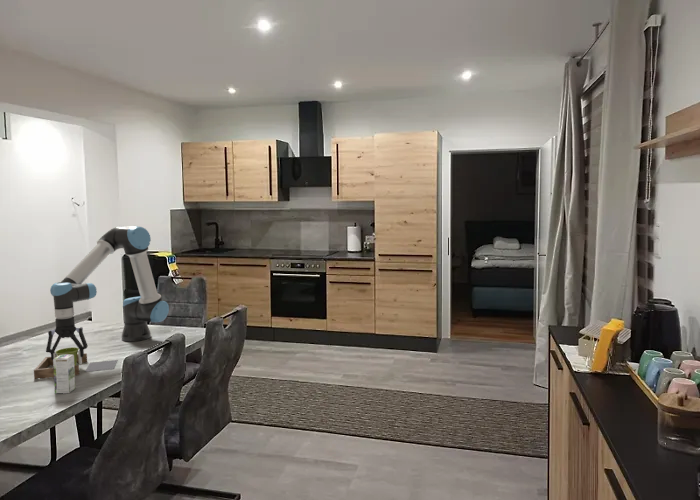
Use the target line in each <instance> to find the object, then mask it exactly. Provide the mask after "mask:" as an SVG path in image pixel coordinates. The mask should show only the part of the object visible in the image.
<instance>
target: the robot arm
mask: <svg viewBox="0 0 700 500" xmlns="http://www.w3.org/2000/svg"><path fill="white" fill-rule="evenodd" d="M151 239H152V238H151V234H150V232H149V231H148V230H147V229H146V228H144V227H142V226H138V225H128V226H127V225H125V226H124V225H119V226H118V225H117V226H115V227H113V228H111V229H110V230H108V231H107V232H105V234H103V235H102V236H101V237H100V238H99V239H98V240H97V241H96V245H95V246H94V247H93V248H91V250H90V251H89V252H88V253H87V255H86V256H84V258H83V259H82V260H80V262H79V263H78V264H77V265H76V266H75V267H74V268H73V269H72V270H71V271H70V272H69V273H68V275H66V276H65V277H64V278H63V279H62V280H61V281H57V282H55V283H53V284H52V285H51V287H50V294H51V296H52V297H53V305H54V317H55V320H54V321H55V329H49V330H48V332H47V333H48V339H47V344H46V349H45V352H46V353H50V357H51V359H52V360H53V359H54V358H56V357H57V354H56V350H57V348H58V345H59V343H60V341H61V339H65V338H68V339H69V338H70V339H71V340H72V341H73V343H74V344H75V345H76V348H79V350H78V353H77V354H78V357H79V363H78V365H79V366H81V365H82V364H83V362H82V357H83V356H84V352H85V350H86V349H87V348H88V343H87V340H86V338H85V335H84V330H83V327H82V326H81V327H76V324H75V323H76V322H75V317H74V315H75V312H74V311H75V310H74V303H77V302H82V301H86V300H87V301H88V300H90V299H94V298H95V297H96V295H97V293H98V292H97V287H96V285H95V284H94V283H92V282H87V283H86V282H85V281H86V280H87V279H88V278H89V276H90V275H92V273H93V272H94V271H95V270H96V269H97V268H98V267H99V265H101V264H102V263H103V262H104V261H105V259H106V258H107V257H108V256H109V255H111V254H114V252H116V251H117V250H119V249H123V250H124V254H125V255H126V256H128V257H129V260H130V263H131V268H132V270H133V274H134V278H135V282H136V285H137V288H138V292H139V296H133V297H128V298H125V299H124V300H123V302H122V303H123V304H122V310H123V311H122V312H123V322H124V324H123V325H124V326H123V328H122V332H121V341H123V342H140V341H145V340H148V339H150V338H151V337H152V333H151V330H150V327H149V326H148V322H151V323H161V322H164V320H166V318H167V317H168V314H169V310H170V307H169V306H170V305H169V303H168V302H167V301H165V300H163V298H162V295H161V294H160V293H158V290H157V287H156V284H155V279H154V275H153V273H152V268H151V265H150V260H149V257H148V253H147V252H148V251H149V247H150V245H151V241H152V240H151ZM84 282H85V283H84ZM75 332H77V334H78V336H79V339H80V340H81V341H79V339H78V337H77V336H76V335H75ZM54 334H56V335H58V336H57V337H56V340H55V342H54V343H53V337H54ZM52 343H53V346H52ZM51 347H52V348H51Z"/></svg>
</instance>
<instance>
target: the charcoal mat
mask: <svg viewBox="0 0 700 500" xmlns="http://www.w3.org/2000/svg"><path fill="white" fill-rule="evenodd" d="M117 362H118V359H116V360H115V359H113V360H103V361H95V362H94V361H93V362H90V363H88V366H87V367H86V369H85V371H84V373H87V372H97V371H98V372H99V371H106V370H114V369H115V368H116V365H117V364H118V363H117Z"/></svg>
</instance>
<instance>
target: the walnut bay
mask: <svg viewBox="0 0 700 500" xmlns="http://www.w3.org/2000/svg"><path fill="white" fill-rule="evenodd" d="M57 357H58V356H57ZM82 363H88V353H84V356H83V357H82ZM49 366H51V367H49ZM74 367H75V376H79V375H80V365H79V357H78V353H77V365H75V366H74ZM33 377H34V378H33V379H34V380H38V379H37V378H42V379H49V377H52V378H54V367H53V360H52V359H51V356H45V357H44V358H43V360H42V361H41V362H40V363H39V364H38V365H37V366H36V367H35V368H34V370H33Z"/></svg>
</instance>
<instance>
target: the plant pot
mask: <svg viewBox="0 0 700 500" xmlns="http://www.w3.org/2000/svg"><path fill="white" fill-rule="evenodd" d="M78 351H79V348H78V347H77V346H76V347H75V346H74V347H64V348H61V349H58V350H57V349H56V350H55V352H56V354H57V356H59V355H64V354H71V355H74V366H75V365H78V363H77V354H78Z"/></svg>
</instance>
